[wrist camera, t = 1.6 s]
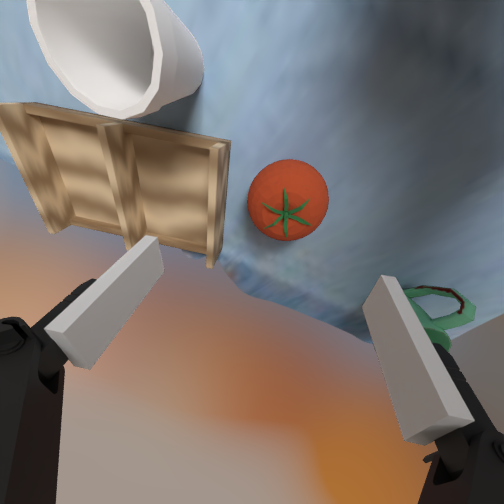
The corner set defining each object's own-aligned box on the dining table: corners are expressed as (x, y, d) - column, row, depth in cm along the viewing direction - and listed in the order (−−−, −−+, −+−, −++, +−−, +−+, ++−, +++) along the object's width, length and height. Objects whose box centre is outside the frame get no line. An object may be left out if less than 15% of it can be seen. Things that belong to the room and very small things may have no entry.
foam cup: (129, 74, 27) (22, 58, 16) (155, -23, 22) (24, -137, 11) (195, 127, 29) (139, 144, 18) (232, 51, 24) (184, 14, 13)
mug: (384, 322, 44) (405, 372, 36) (348, 300, 42) (360, 347, 34) (460, 280, 36) (508, 333, 28) (418, 250, 34) (457, 298, 26)
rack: (36, 102, 30) (-14, 103, 25) (231, 140, 29) (218, 149, 24) (78, 216, 41) (49, 232, 36) (222, 248, 40) (212, 268, 35)
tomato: (300, 231, 35) (302, 270, 27) (243, 204, 34) (227, 236, 26) (339, 172, 29) (356, 201, 21) (271, 138, 28) (262, 153, 20)
